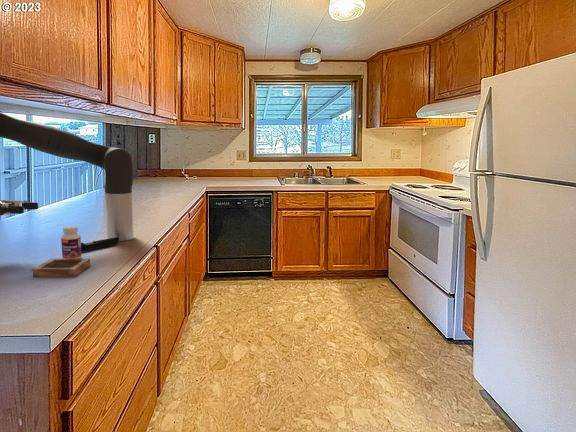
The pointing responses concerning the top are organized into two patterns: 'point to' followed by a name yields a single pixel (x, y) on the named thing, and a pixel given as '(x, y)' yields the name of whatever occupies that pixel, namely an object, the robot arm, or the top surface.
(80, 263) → the socket block
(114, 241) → the electric trimmer
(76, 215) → the top surface
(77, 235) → the pill bottle
